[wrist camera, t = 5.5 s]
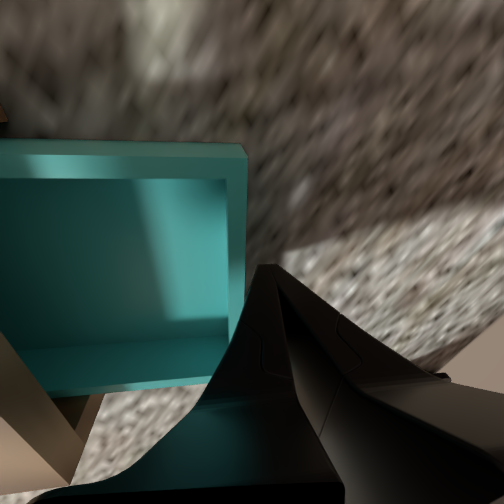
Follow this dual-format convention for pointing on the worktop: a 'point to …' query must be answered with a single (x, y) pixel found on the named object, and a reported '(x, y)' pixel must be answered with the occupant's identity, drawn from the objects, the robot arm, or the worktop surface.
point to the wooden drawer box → (38, 426)
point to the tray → (121, 260)
